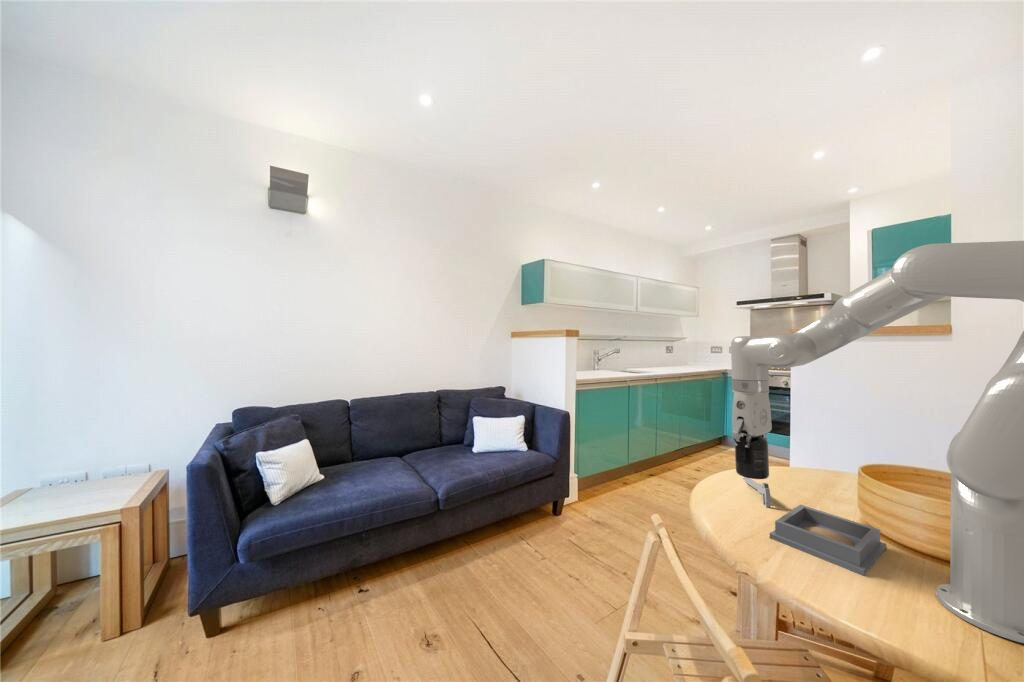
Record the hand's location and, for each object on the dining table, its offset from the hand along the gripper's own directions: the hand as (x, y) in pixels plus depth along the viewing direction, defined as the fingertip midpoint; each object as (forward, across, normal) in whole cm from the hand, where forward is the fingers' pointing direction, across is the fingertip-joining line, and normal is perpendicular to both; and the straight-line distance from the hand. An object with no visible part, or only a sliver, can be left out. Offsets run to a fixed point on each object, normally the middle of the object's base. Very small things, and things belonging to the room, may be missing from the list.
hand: (751, 459), depth 88 cm
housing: (+17, +6, -12) cm, 22 cm away
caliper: (+17, +22, +9) cm, 29 cm away
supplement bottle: (+4, 0, 0) cm, 4 cm away
